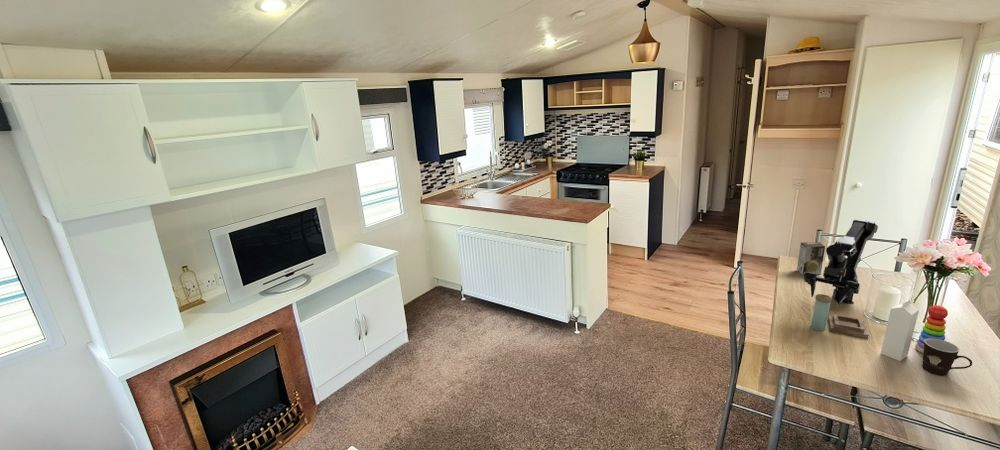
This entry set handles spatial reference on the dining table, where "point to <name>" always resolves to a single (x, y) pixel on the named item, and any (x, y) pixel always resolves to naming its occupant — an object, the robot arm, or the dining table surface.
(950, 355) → the coffee mug
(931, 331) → the stacking toy
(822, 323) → the cup
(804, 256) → the coffee box
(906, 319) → the milk
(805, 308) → the dining table surface
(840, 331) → the brown wooden square tray
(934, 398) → the dining table surface
